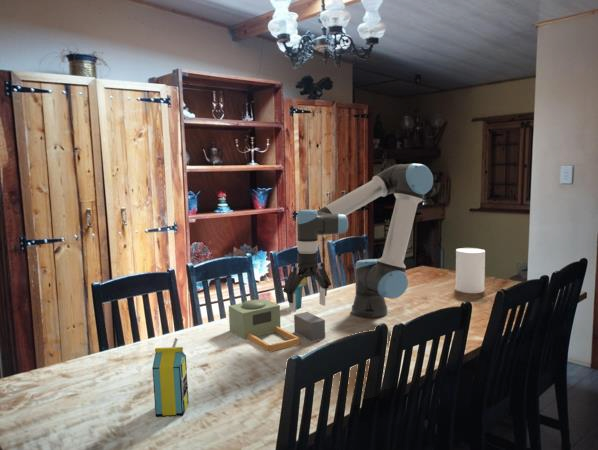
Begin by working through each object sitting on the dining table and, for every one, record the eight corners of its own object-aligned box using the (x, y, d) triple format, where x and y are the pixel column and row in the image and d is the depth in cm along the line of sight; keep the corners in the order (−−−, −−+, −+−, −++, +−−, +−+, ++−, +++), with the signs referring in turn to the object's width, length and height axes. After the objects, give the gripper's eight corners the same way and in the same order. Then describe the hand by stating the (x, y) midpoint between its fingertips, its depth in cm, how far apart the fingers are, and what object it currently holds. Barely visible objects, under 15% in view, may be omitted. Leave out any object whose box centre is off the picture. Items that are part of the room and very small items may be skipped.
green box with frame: (265, 322, 189) (264, 296, 187) (304, 342, 166) (303, 312, 164) (229, 330, 180) (228, 303, 178) (265, 353, 157) (264, 322, 155)
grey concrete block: (307, 329, 180) (307, 311, 179) (325, 338, 169) (324, 320, 169) (294, 332, 177) (294, 314, 176) (311, 341, 166) (311, 323, 166)
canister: (449, 288, 233) (450, 249, 231) (469, 284, 239) (470, 247, 237) (469, 294, 221) (470, 253, 219) (490, 290, 227) (491, 251, 224)
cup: (286, 313, 200) (285, 279, 198) (276, 309, 206) (275, 276, 204) (311, 306, 208) (310, 274, 206) (300, 302, 214) (299, 271, 213)
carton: (190, 400, 126) (186, 337, 123) (184, 415, 118) (180, 348, 116) (162, 401, 125) (158, 338, 123) (155, 417, 118) (150, 349, 115)
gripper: (328, 247, 179) (328, 300, 182) (273, 253, 165) (274, 311, 168) (340, 249, 173) (340, 304, 175) (284, 257, 159) (285, 316, 162)
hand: (307, 307), depth 172 cm, fingers open, 13 cm apart
